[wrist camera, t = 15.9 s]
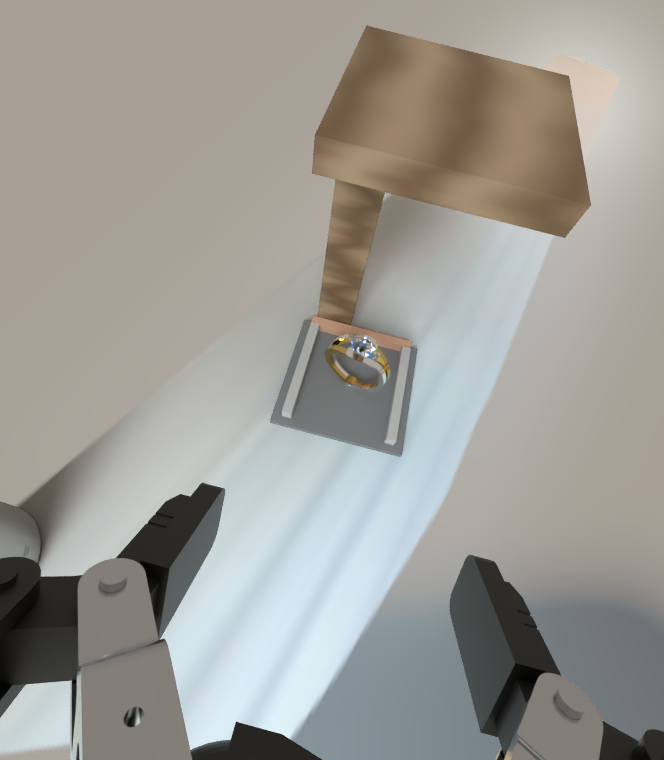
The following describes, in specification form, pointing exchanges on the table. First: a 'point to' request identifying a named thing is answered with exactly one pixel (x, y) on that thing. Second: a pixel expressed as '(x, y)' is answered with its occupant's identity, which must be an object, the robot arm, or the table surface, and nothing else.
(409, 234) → the table surface
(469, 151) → the shelf
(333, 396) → the seat
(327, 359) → the ring
